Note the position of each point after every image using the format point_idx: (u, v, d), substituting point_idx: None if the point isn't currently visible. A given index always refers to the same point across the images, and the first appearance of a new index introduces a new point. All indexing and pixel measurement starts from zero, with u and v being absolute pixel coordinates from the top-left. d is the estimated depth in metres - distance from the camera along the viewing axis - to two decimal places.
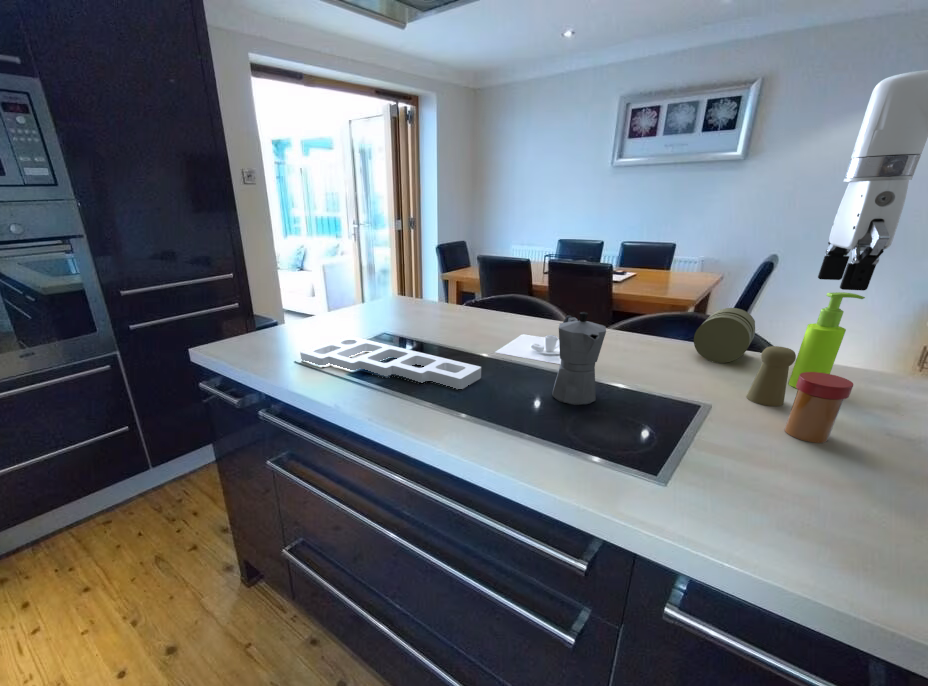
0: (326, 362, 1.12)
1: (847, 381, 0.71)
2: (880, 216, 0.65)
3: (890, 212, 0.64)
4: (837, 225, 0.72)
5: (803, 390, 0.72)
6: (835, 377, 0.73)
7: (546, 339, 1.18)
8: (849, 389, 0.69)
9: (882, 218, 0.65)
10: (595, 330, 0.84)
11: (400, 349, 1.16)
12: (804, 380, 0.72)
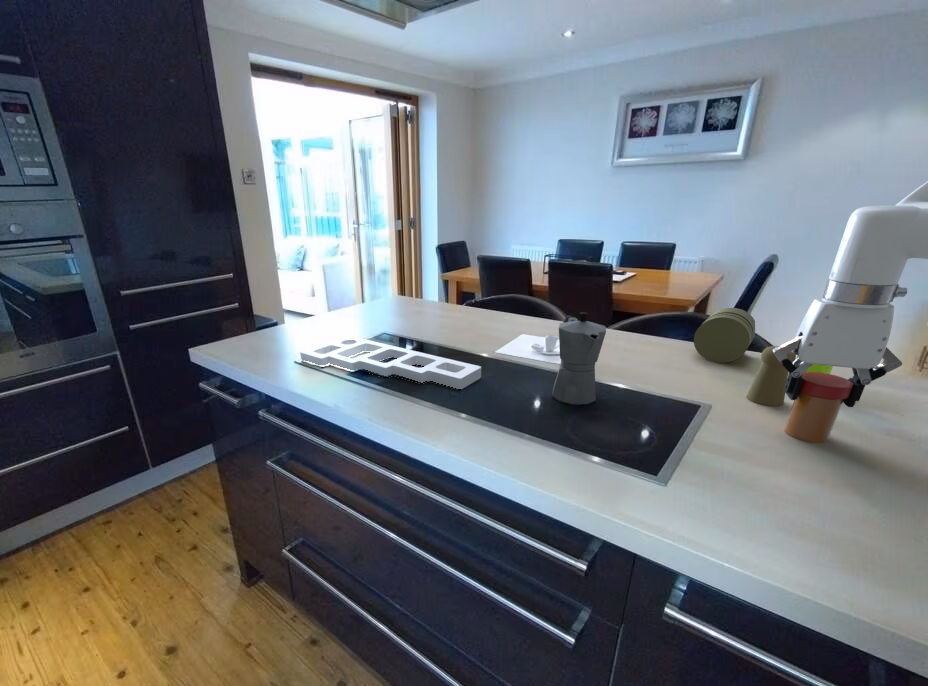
0: (326, 362, 1.12)
1: (847, 381, 0.71)
2: None
3: None
4: (831, 347, 0.68)
5: (803, 390, 0.72)
6: (835, 377, 0.73)
7: (546, 339, 1.18)
8: (849, 389, 0.69)
9: None
10: (595, 330, 0.84)
11: (400, 349, 1.16)
12: (804, 380, 0.72)
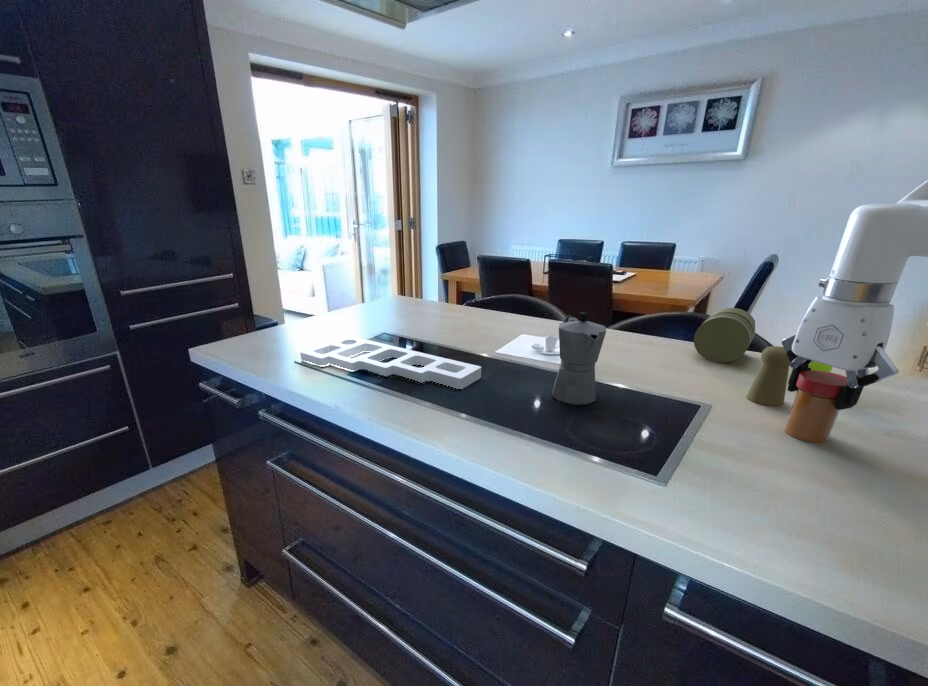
0: (326, 362, 1.12)
1: (806, 371, 0.74)
2: None
3: None
4: None
5: None
6: (807, 375, 0.73)
7: (546, 339, 1.18)
8: None
9: None
10: (595, 330, 0.84)
11: (400, 349, 1.16)
12: None
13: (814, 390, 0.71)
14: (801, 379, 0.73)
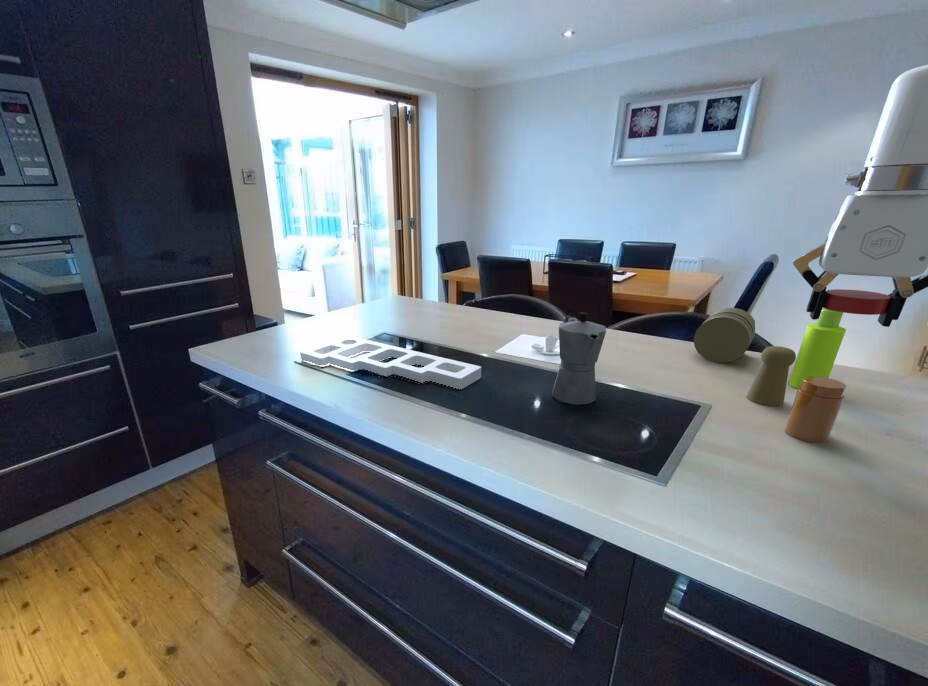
0: (326, 362, 1.12)
1: (830, 292, 0.62)
2: (827, 237, 0.60)
3: (831, 230, 0.59)
4: None
5: None
6: (841, 294, 0.60)
7: (546, 339, 1.18)
8: None
9: (827, 239, 0.60)
10: (595, 330, 0.84)
11: (400, 349, 1.16)
12: None
13: (866, 310, 0.58)
14: (843, 300, 0.60)
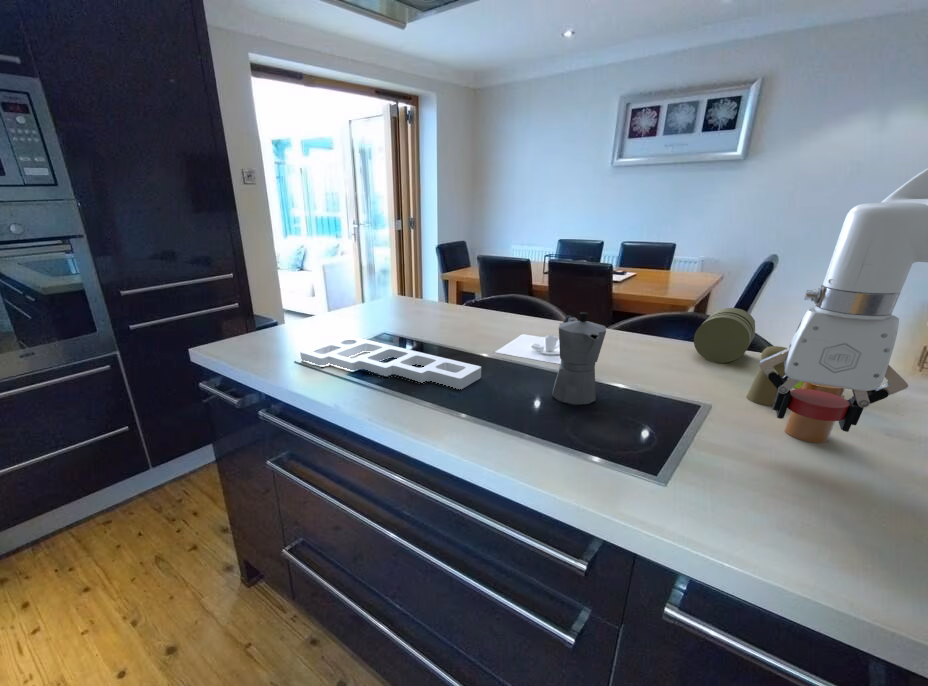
0: (326, 362, 1.12)
1: (794, 394, 0.65)
2: (790, 344, 0.64)
3: (793, 340, 0.63)
4: None
5: None
6: (804, 399, 0.64)
7: (546, 339, 1.18)
8: None
9: (790, 346, 0.64)
10: (595, 330, 0.84)
11: (400, 349, 1.16)
12: None
13: (826, 417, 0.62)
14: (805, 406, 0.63)
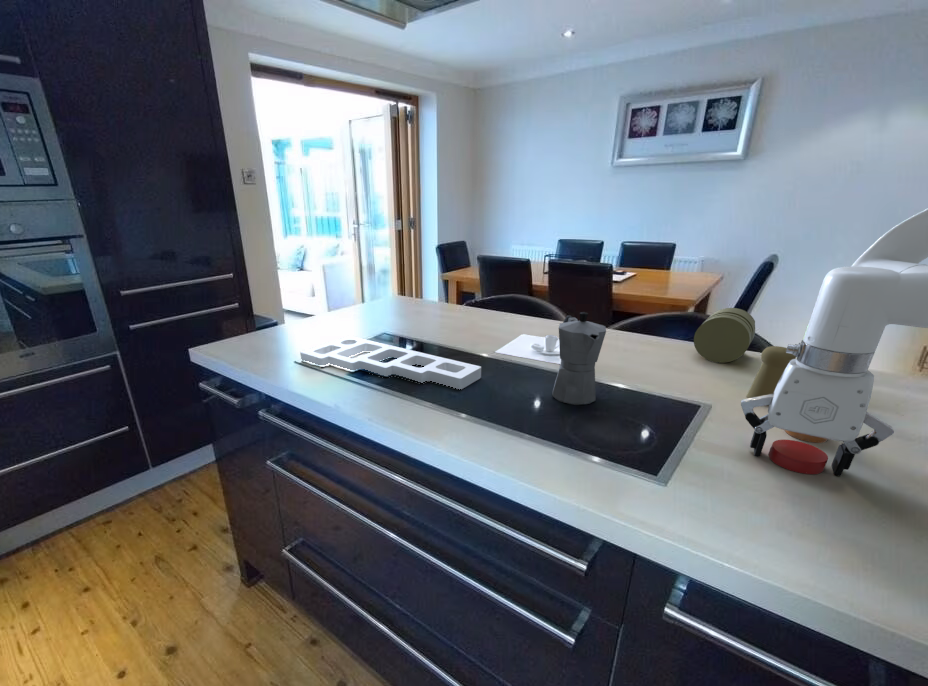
0: (326, 362, 1.12)
1: (776, 446, 0.69)
2: (775, 391, 0.67)
3: (776, 390, 0.66)
4: None
5: None
6: (785, 451, 0.67)
7: (546, 339, 1.18)
8: None
9: (774, 393, 0.67)
10: (595, 330, 0.84)
11: (400, 349, 1.16)
12: None
13: (805, 470, 0.65)
14: (786, 459, 0.66)
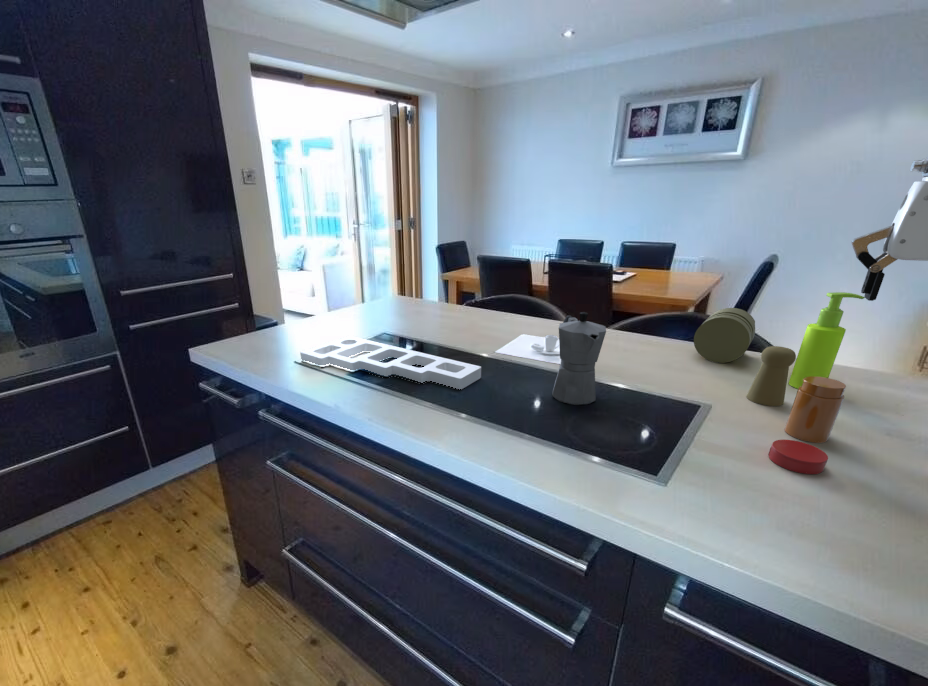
0: (326, 362, 1.12)
1: (776, 446, 0.69)
2: (895, 220, 0.60)
3: (898, 217, 0.59)
4: None
5: None
6: (785, 451, 0.67)
7: (546, 339, 1.18)
8: None
9: (895, 223, 0.60)
10: (595, 330, 0.84)
11: (400, 349, 1.16)
12: None
13: (805, 470, 0.65)
14: (786, 459, 0.66)
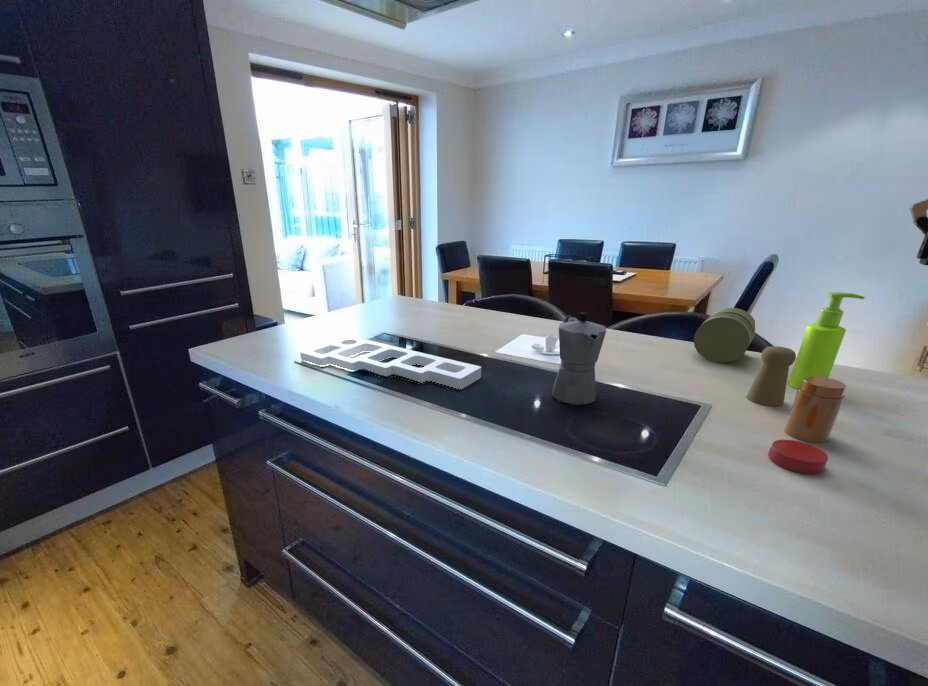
0: (326, 362, 1.12)
1: (776, 446, 0.69)
2: None
3: None
4: None
5: None
6: (785, 451, 0.67)
7: (546, 339, 1.18)
8: None
9: None
10: (595, 330, 0.84)
11: (400, 349, 1.16)
12: None
13: (805, 470, 0.65)
14: (786, 459, 0.66)
